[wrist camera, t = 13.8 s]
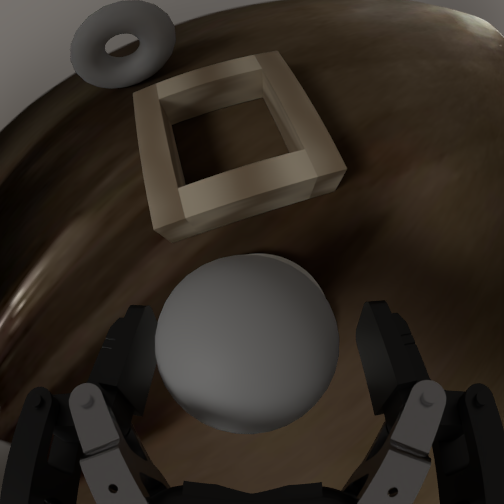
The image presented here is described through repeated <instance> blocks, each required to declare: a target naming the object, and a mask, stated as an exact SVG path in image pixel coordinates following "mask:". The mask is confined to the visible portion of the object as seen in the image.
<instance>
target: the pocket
mask: <svg viewBox="0 0 504 504" xmlns="http://www.w3.org/2000/svg"><path fill="white" fill-rule="evenodd" d="M258 98H263V99H264V101H265V103H266V105H267V107H268V109H269V111H270V113H271V115H272V117H273V119H274V121H275V123H276V125H277V127H278V129H279V131H280V133H281V136H282V138H283V140H284V142H285V144H286V146H287V148H288V151H289V153H288V154H285V155H281V156H277V157H274V158H270V159H267V160H263V161H260V162H256V163H253V164H249V165H246V166H243V167H240V168H236V169H233V170H230V171H227V172H224V173H221V174H218V175H214V176H211V177H209V178H206V179H203V180H200V181H197V182H194V183H191V184H188V185H186V183H185V179H184V175H183V171H182V167H181V163H180V159H179V155H178V151H177V146H176V142H175V138H174V134H173V129H172V125H173V124H176V123H178V122H181V121H184V120H187V119H190V118H193V117H196V116H199V115H202V114H205V113H208V112H211V111H215V110H218V109H221V108H225V107H228V106H232V105H235V104H239V103H243V102H246V101H250V100H254V99H258ZM133 101H134V111H135V120H136V128H137V136H138V144H139V151H140V158H141V164H142V170H143V176H144V182H145V188H146V193H147V199H148V204H149V209H150V214H151V219H152V224H153V228H154V230H155V231H156V232H158V233H159V234H160V235H162V236H163V237H165V238H166V239H167V240H169V241H170V242H172V243H174V242H177V241H180V240H182V239H185V238H188V237H191V236H194V235H197V234H200V233H203V232H206V231H209V230H212V229H215V228H218V227H221V226H224V225H227V224H230V223H233V222H236V221H239V220H242V219H245V218H248V217H252V216H255V215H258V214H261V213H264V212H267V211H270V210H274V209H277V208H280V207H283V206H287V205H290V204H293V203H296V202H300V201H303V200H306V199H310V198H313V197H316V196H320V195H323V194H327V193H330V192H333V191H335V190H336V188H337V186H338V184H339V183H340V181H341V179H342V177H343V175H344V174H345V172H346V170H347V168H346V165H345V163H344V161H343V159H342V157H341V155H340V154H339V152H338V150H337V148H336V146H335V144H334V142H333V140H332V138H331V136H330V134H329V133H328V131H327V129H326V127H325V125H324V124H323V122H322V120H321V118H320V116H319V115H318V113H317V111H316V110H315V108H314V106H313V104H312V103H311V101H310V99H309V98H308V96H307V95H306V93H305V91H304V90H303V88H302V86H301V85H300V83H299V82H298V80H297V79H296V77H295V76H294V74H293V72H292V71H291V69H290V68H289V66H288V65H287V64H286V62H285V61H284V59H283V58H282V56H281V55H280V53H279V52H278V51H272V52H266V53H261V54H256V55H251V56H246V57H242V58H237V59H233V60H229V61H225V62H221V63H217V64H214V65H210V66H207V67H203V68H200V69H197V70H193V71H190V72H187V73H184V74H181V75H178V76H175V77H172V78H170V79H167V80H164V81H162V82H159V83H156V84H154V85H151V86H149V87H146V88H144V89H141V90H139V91H137V92H134V93H133Z"/></svg>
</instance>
